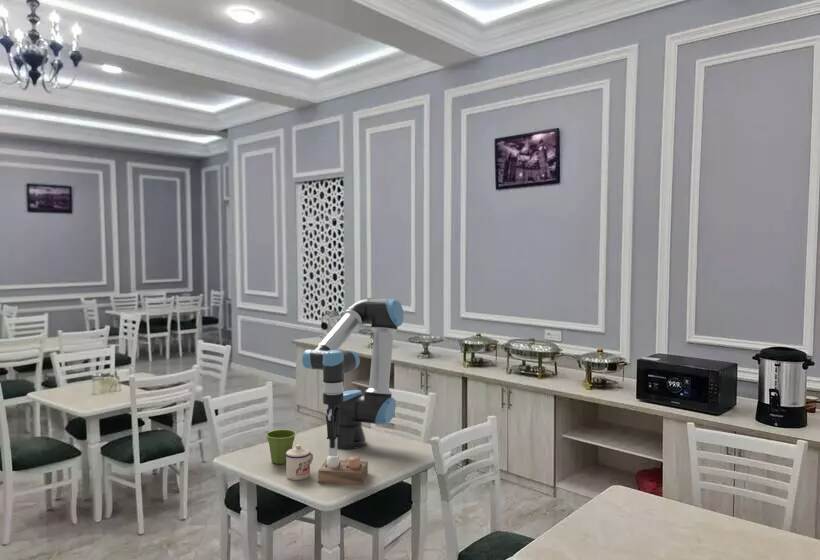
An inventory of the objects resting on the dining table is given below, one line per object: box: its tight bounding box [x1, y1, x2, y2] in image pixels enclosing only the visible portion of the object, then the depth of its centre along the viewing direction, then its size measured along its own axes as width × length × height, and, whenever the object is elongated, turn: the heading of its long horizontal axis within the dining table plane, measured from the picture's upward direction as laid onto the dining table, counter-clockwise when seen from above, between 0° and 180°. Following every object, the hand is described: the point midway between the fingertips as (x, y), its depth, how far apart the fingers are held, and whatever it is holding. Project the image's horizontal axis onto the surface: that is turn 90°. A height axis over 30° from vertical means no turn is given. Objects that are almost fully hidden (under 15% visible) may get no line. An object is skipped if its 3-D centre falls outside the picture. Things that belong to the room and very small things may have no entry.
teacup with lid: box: [285, 444, 314, 481], centre depth 216 cm, size 12×9×12 cm
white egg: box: [326, 455, 340, 468], centre depth 213 cm, size 4×4×6 cm
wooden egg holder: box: [317, 458, 369, 486], centre depth 213 cm, size 12×16×4 cm
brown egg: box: [347, 455, 361, 469], centre depth 212 cm, size 4×4×6 cm
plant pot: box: [265, 429, 297, 465], centre depth 230 cm, size 12×12×11 cm
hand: (333, 455), depth 213 cm, fingers closed
